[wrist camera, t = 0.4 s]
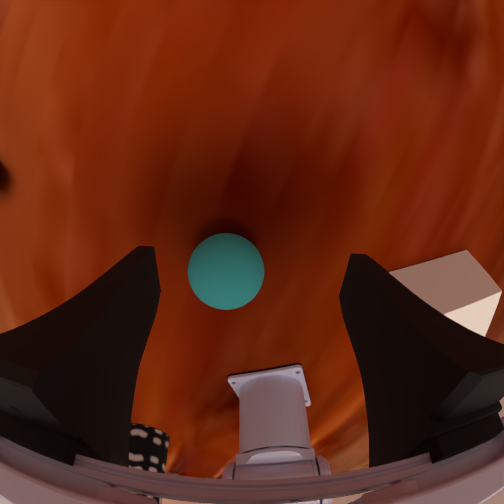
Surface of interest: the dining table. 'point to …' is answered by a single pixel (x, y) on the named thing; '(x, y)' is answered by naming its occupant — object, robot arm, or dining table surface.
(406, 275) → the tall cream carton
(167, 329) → the dining table surface
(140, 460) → the white-spotted black cylinder
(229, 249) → the ball
